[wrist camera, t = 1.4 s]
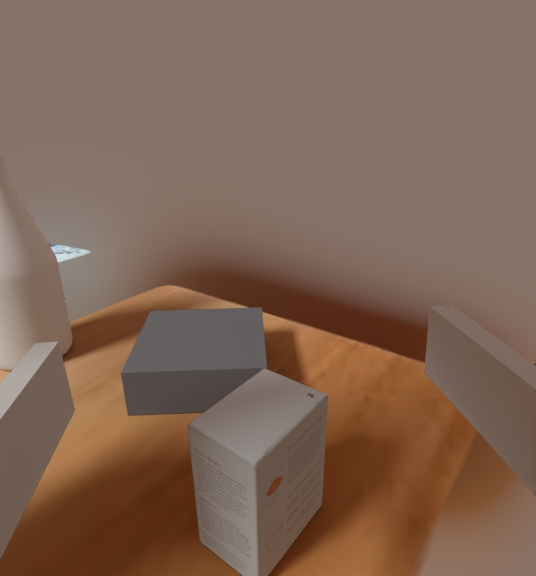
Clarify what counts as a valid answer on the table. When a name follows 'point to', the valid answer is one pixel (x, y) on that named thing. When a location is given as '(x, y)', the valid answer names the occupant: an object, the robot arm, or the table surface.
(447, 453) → the table surface
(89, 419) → the table surface
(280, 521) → the small box
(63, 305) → the wine bottle
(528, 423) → the robot arm
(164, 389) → the plinth
